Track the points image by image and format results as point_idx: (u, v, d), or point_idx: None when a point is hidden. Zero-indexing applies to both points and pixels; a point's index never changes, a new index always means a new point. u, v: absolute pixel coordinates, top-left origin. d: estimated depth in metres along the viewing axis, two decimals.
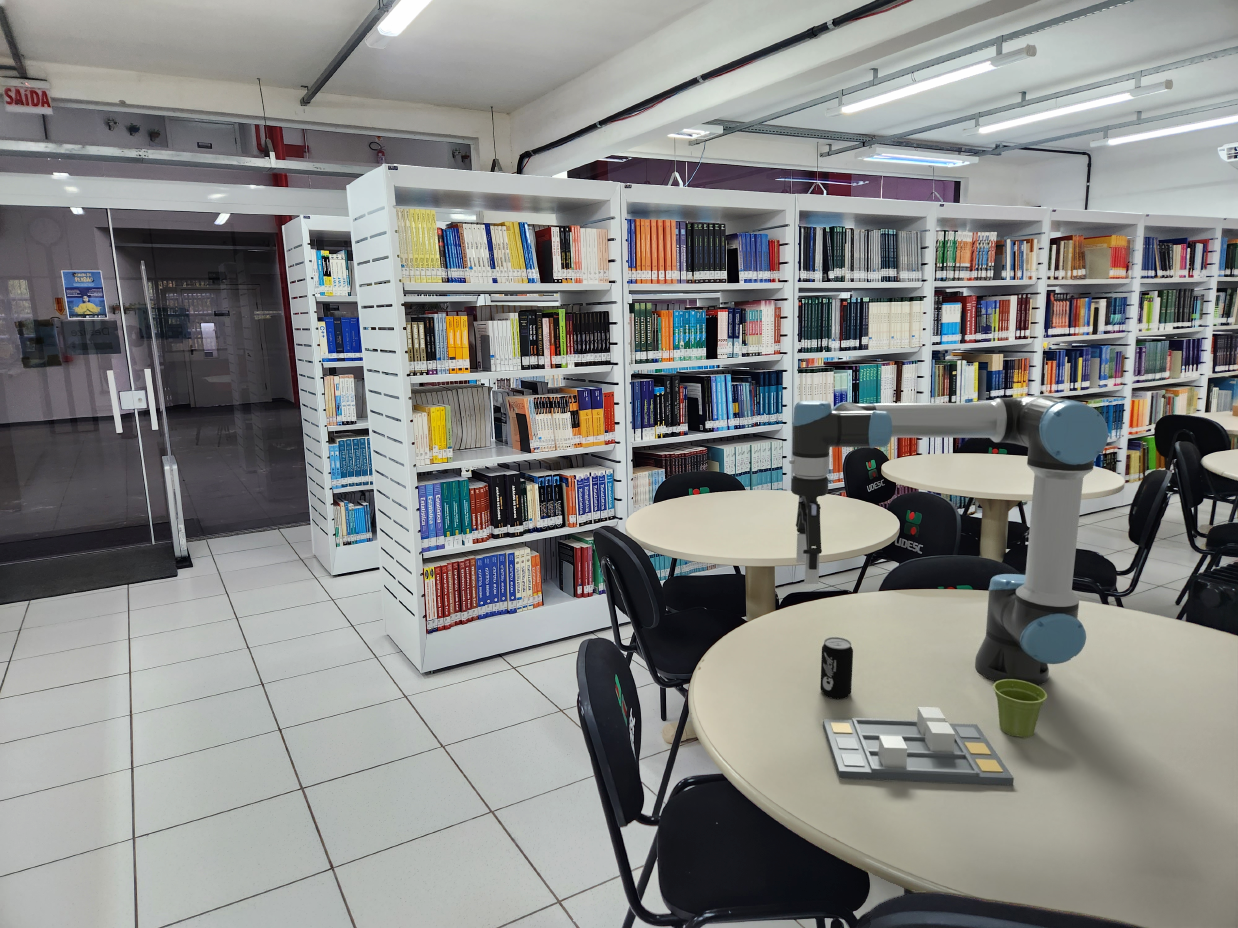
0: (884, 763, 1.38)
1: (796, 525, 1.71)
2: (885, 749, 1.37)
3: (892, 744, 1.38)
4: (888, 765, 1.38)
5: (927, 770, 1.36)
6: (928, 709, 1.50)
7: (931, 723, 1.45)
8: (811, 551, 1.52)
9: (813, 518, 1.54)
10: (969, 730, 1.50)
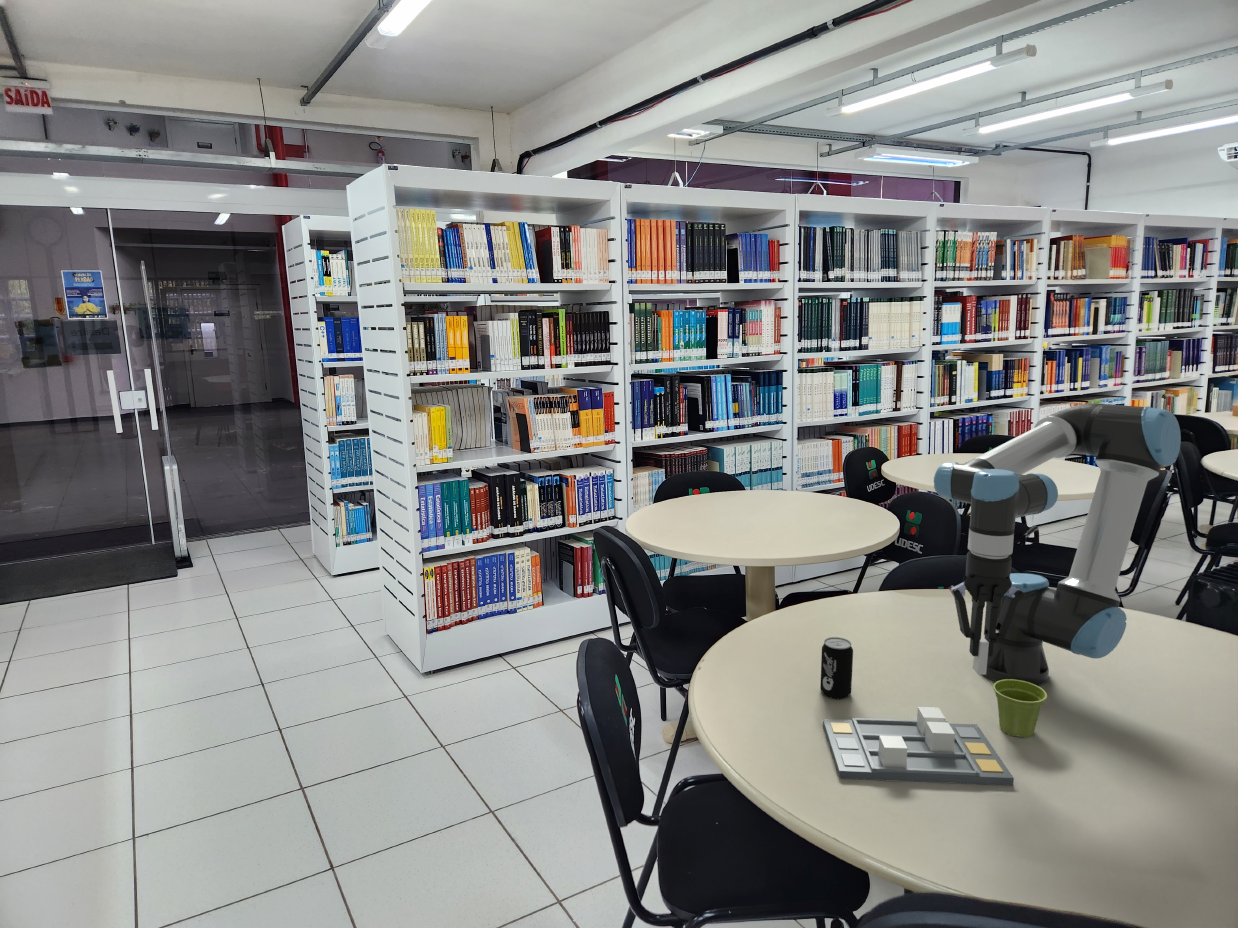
0: (884, 763, 1.38)
1: None
2: (885, 749, 1.37)
3: (892, 744, 1.38)
4: (888, 765, 1.38)
5: (927, 770, 1.36)
6: (928, 709, 1.50)
7: (931, 723, 1.45)
8: (961, 630, 1.46)
9: (956, 601, 1.44)
10: (969, 730, 1.50)
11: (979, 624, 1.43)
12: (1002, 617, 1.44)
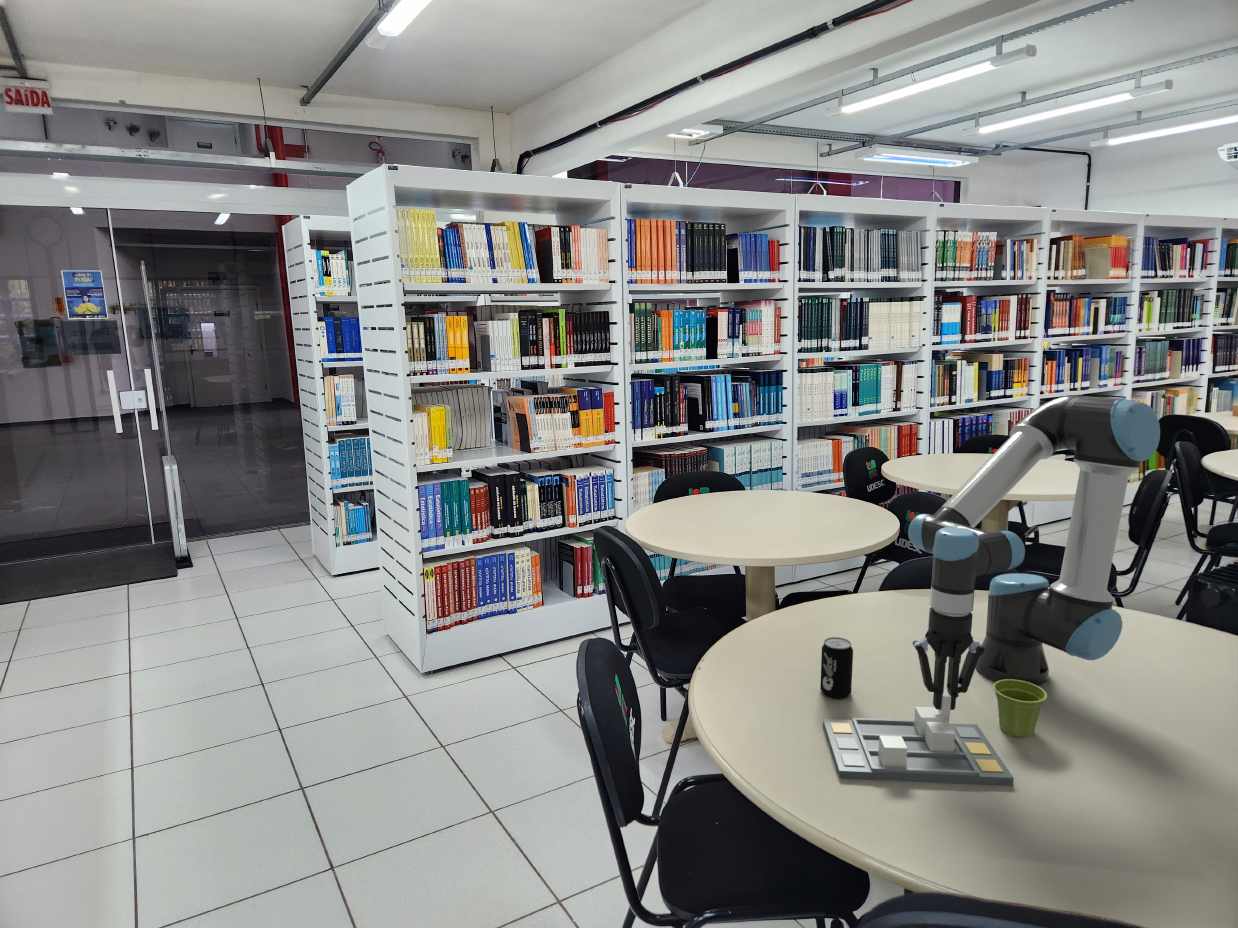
0: (884, 763, 1.38)
1: (958, 682, 1.49)
2: (885, 749, 1.37)
3: (892, 744, 1.38)
4: (888, 765, 1.38)
5: (927, 770, 1.36)
6: (925, 709, 1.50)
7: (931, 723, 1.45)
8: (924, 684, 1.49)
9: (919, 655, 1.47)
10: (969, 730, 1.50)
11: (941, 679, 1.46)
12: (964, 672, 1.46)
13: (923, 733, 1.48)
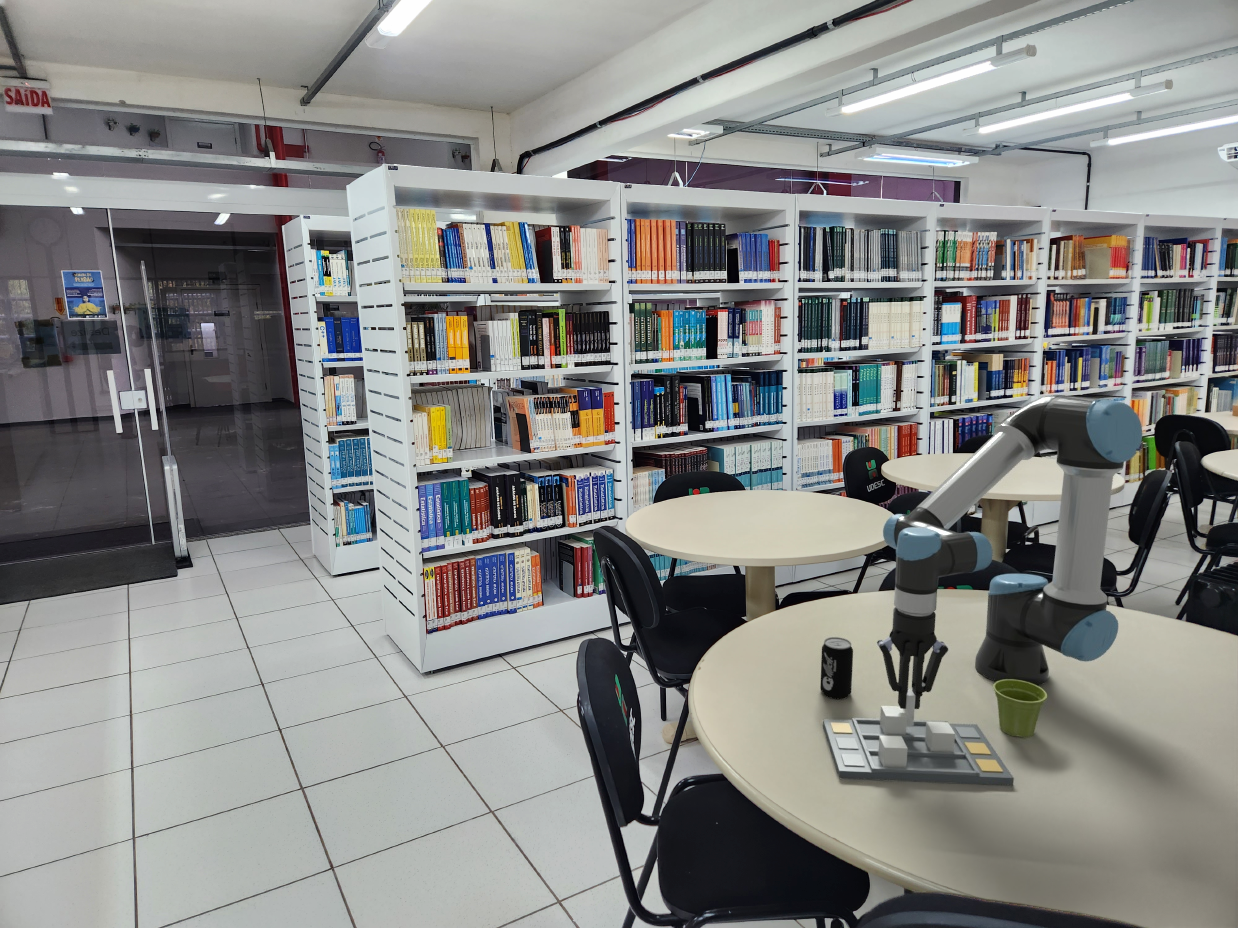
0: (884, 763, 1.38)
1: None
2: (885, 749, 1.37)
3: (892, 744, 1.38)
4: (888, 765, 1.38)
5: (927, 770, 1.36)
6: (891, 708, 1.51)
7: (931, 723, 1.45)
8: (889, 683, 1.49)
9: (883, 655, 1.48)
10: (969, 730, 1.50)
11: (905, 678, 1.47)
12: (928, 671, 1.47)
13: (888, 732, 1.48)
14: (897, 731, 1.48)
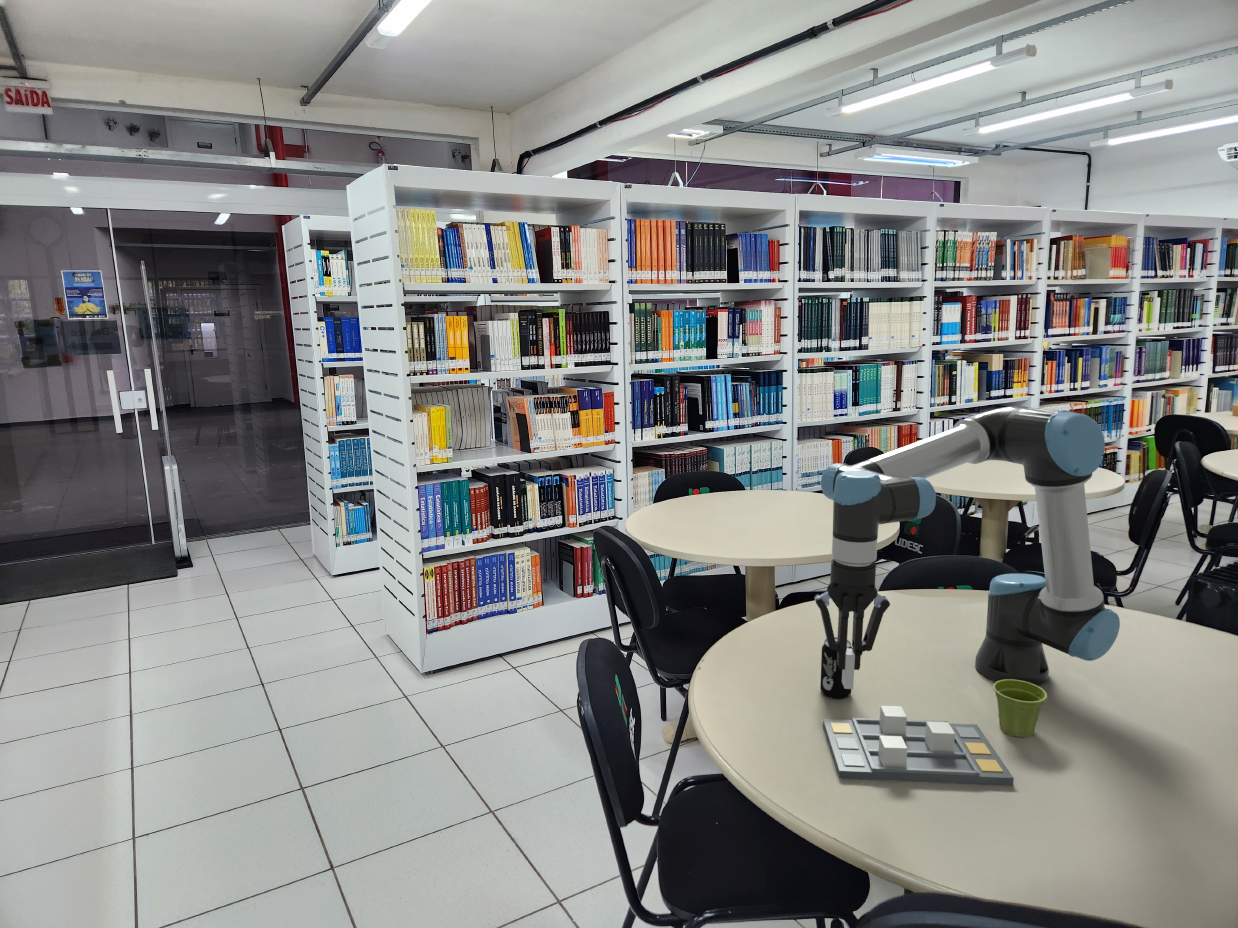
0: (884, 763, 1.38)
1: None
2: (885, 749, 1.37)
3: (892, 744, 1.38)
4: (888, 765, 1.38)
5: (927, 770, 1.36)
6: (890, 708, 1.51)
7: (931, 723, 1.45)
8: (827, 642, 1.37)
9: (821, 611, 1.36)
10: (969, 730, 1.50)
11: (844, 636, 1.35)
12: (869, 629, 1.35)
13: (887, 732, 1.48)
14: (897, 731, 1.48)
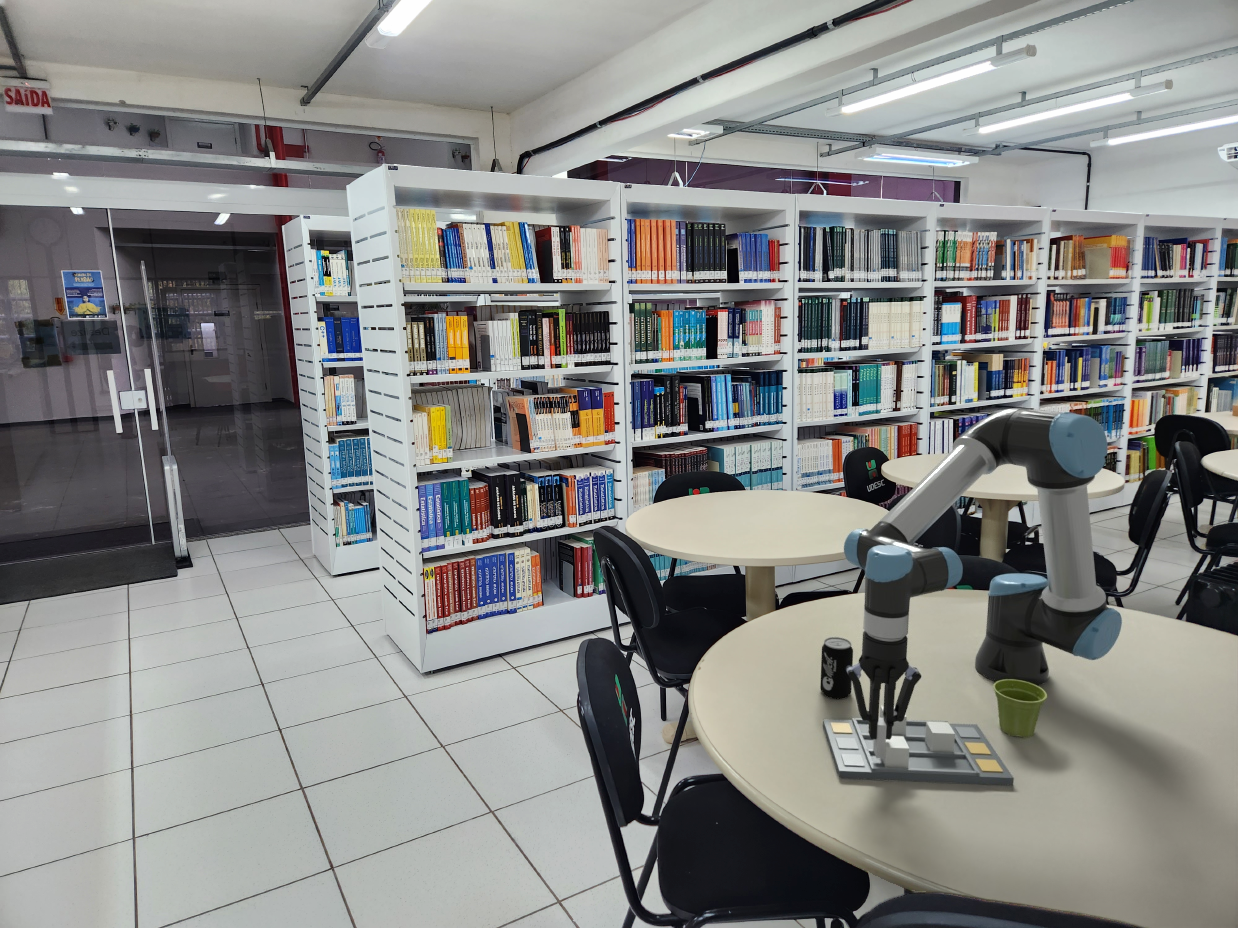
0: (886, 763, 1.38)
1: None
2: (887, 749, 1.37)
3: (894, 744, 1.38)
4: (890, 765, 1.38)
5: (927, 770, 1.36)
6: None
7: (931, 723, 1.45)
8: (859, 712, 1.39)
9: (852, 682, 1.38)
10: (969, 730, 1.50)
11: (876, 707, 1.37)
12: (900, 699, 1.37)
13: None
14: (897, 731, 1.48)
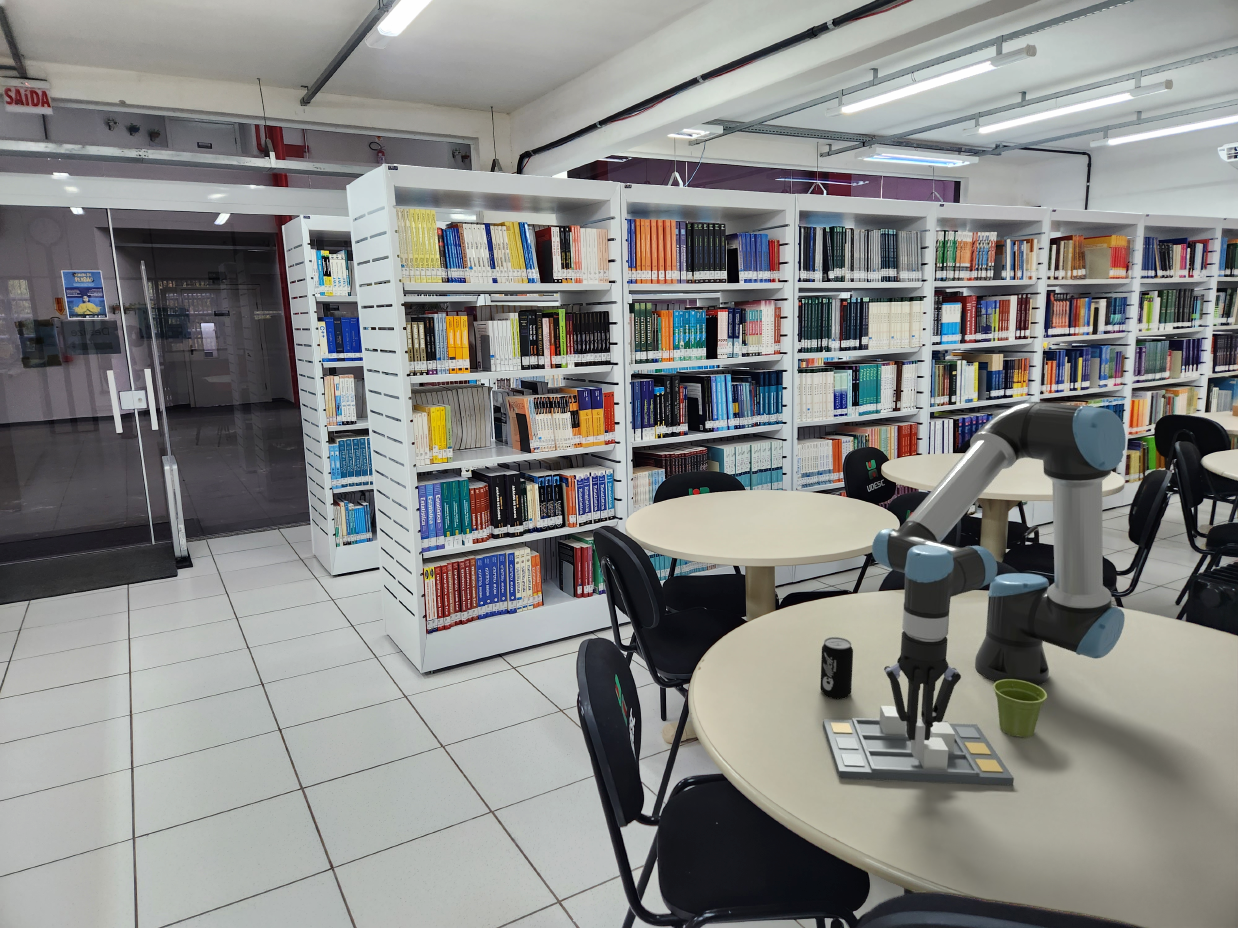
0: (924, 765, 1.37)
1: (933, 711, 1.39)
2: (926, 751, 1.37)
3: (932, 745, 1.38)
4: (929, 767, 1.37)
5: (927, 770, 1.36)
6: (890, 708, 1.51)
7: None
8: (897, 712, 1.39)
9: (891, 682, 1.37)
10: (969, 730, 1.50)
11: (915, 708, 1.36)
12: (939, 700, 1.36)
13: (887, 732, 1.48)
14: (897, 731, 1.48)
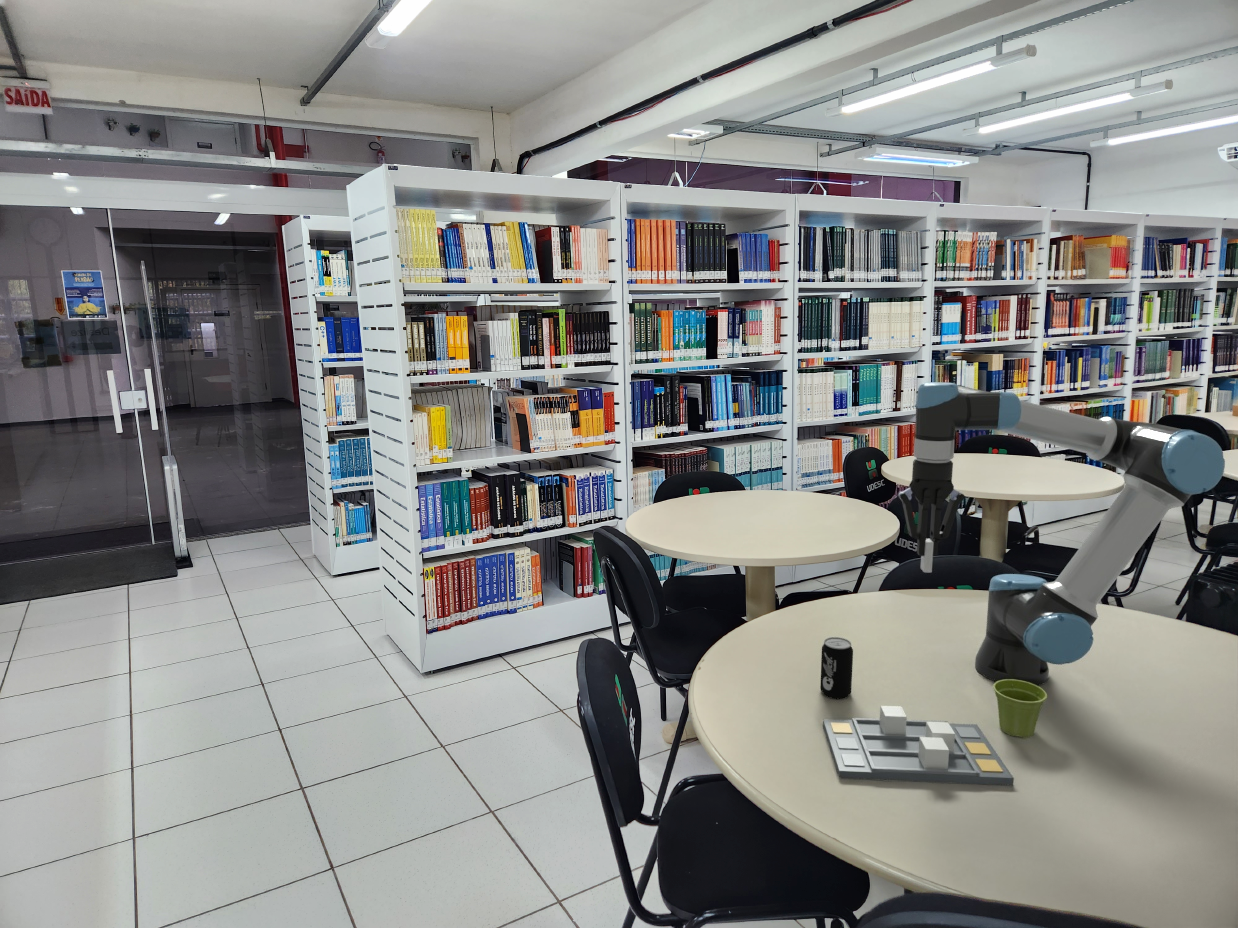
0: (925, 765, 1.37)
1: (940, 531, 1.59)
2: (926, 751, 1.37)
3: (933, 745, 1.38)
4: (929, 767, 1.37)
5: (927, 770, 1.36)
6: (890, 708, 1.51)
7: (931, 723, 1.45)
8: (909, 533, 1.59)
9: (903, 505, 1.57)
10: (969, 730, 1.50)
11: (924, 526, 1.56)
12: (946, 519, 1.57)
13: (887, 732, 1.48)
14: (897, 731, 1.48)
